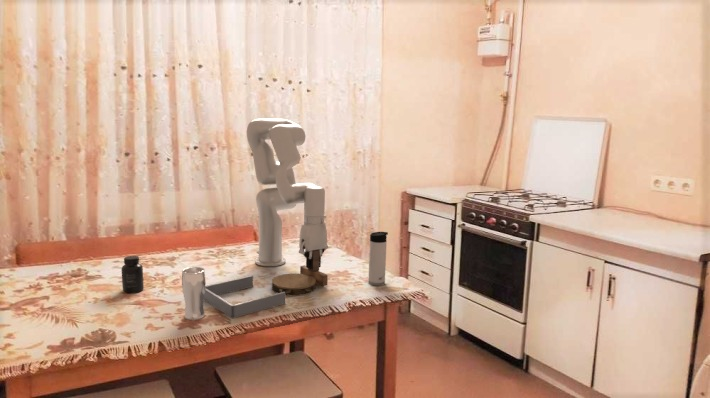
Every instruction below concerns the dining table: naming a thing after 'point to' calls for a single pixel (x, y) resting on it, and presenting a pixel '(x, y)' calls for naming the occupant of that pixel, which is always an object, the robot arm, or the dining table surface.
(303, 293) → the wood log slice
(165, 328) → the dining table surface
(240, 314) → the box
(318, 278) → the wooden t-shaped block
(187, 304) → the beer glass
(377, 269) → the travel mug
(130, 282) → the supplement bottle
